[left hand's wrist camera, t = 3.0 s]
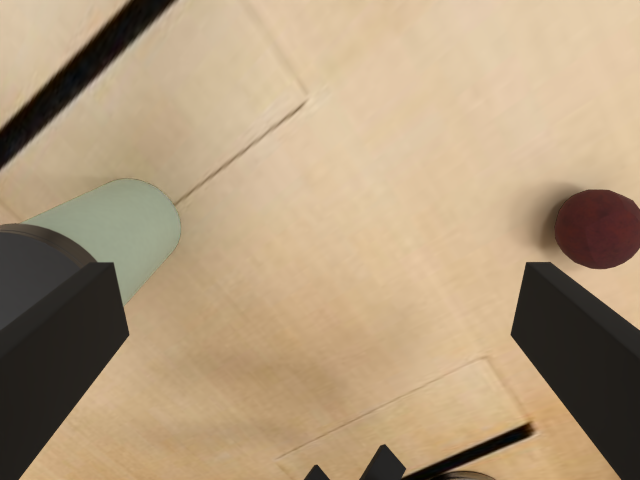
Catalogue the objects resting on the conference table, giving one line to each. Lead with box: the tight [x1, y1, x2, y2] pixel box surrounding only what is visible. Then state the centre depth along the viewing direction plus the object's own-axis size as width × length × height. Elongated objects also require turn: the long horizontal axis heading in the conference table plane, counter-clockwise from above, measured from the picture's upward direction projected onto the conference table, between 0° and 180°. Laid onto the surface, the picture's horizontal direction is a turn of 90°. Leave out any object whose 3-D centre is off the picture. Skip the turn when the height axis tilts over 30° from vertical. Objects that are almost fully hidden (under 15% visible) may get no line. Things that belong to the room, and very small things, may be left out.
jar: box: [20, 179, 181, 307], centre depth 34 cm, size 10×10×16 cm
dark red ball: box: [555, 190, 640, 269], centre depth 38 cm, size 7×8×7 cm
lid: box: [0, 224, 97, 330], centre depth 26 cm, size 11×11×2 cm
